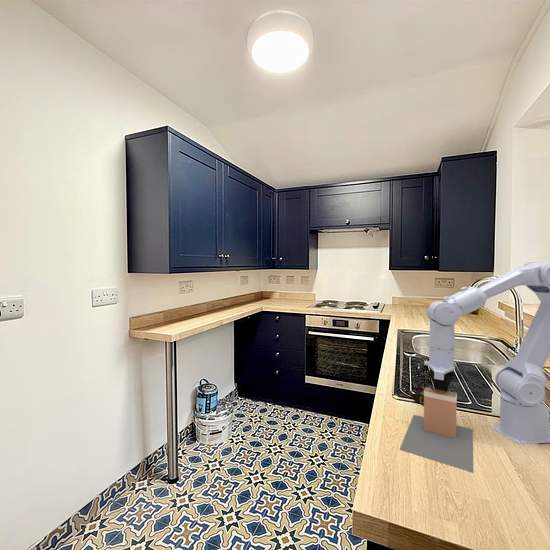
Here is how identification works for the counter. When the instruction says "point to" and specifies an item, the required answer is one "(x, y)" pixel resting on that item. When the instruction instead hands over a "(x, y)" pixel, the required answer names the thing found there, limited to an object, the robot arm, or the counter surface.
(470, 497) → the counter surface
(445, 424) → the salmon pink box
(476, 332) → the counter surface
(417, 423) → the charcoal mat
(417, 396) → the tape measure
